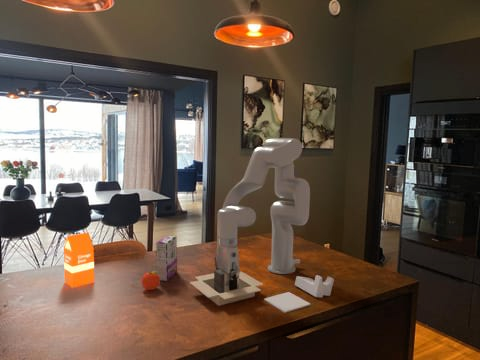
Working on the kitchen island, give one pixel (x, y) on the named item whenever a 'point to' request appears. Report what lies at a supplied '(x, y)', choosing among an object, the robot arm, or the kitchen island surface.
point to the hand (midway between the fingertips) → (226, 285)
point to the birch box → (222, 281)
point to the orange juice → (79, 260)
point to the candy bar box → (166, 257)
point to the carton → (246, 291)
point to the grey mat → (287, 302)
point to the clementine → (151, 280)
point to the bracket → (315, 285)
